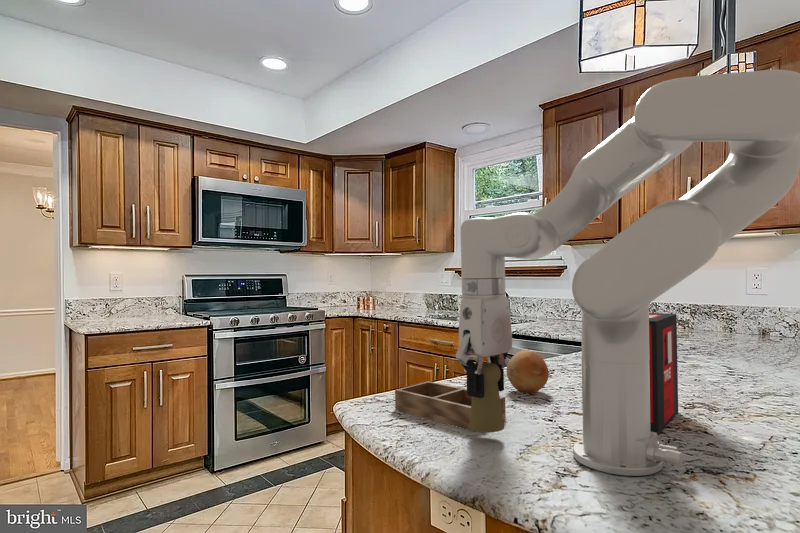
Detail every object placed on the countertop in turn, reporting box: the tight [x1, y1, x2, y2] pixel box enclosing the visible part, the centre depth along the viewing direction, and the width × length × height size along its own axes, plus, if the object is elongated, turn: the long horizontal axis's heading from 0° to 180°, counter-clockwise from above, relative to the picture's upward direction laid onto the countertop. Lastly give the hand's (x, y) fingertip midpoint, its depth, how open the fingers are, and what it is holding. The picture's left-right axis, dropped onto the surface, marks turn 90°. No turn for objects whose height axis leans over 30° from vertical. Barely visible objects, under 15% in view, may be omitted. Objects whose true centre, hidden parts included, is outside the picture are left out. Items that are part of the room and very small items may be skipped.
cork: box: [469, 361, 505, 433], centre depth 84 cm, size 6×6×11 cm
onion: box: [506, 349, 550, 394], centre depth 115 cm, size 10×10×10 cm
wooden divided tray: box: [394, 380, 507, 432], centre depth 99 cm, size 20×11×4 cm, turn 45°
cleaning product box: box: [649, 312, 679, 436], centre depth 94 cm, size 16×9×20 cm, turn 139°
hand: (485, 392), depth 84 cm, fingers closed on cork, 5 cm apart
